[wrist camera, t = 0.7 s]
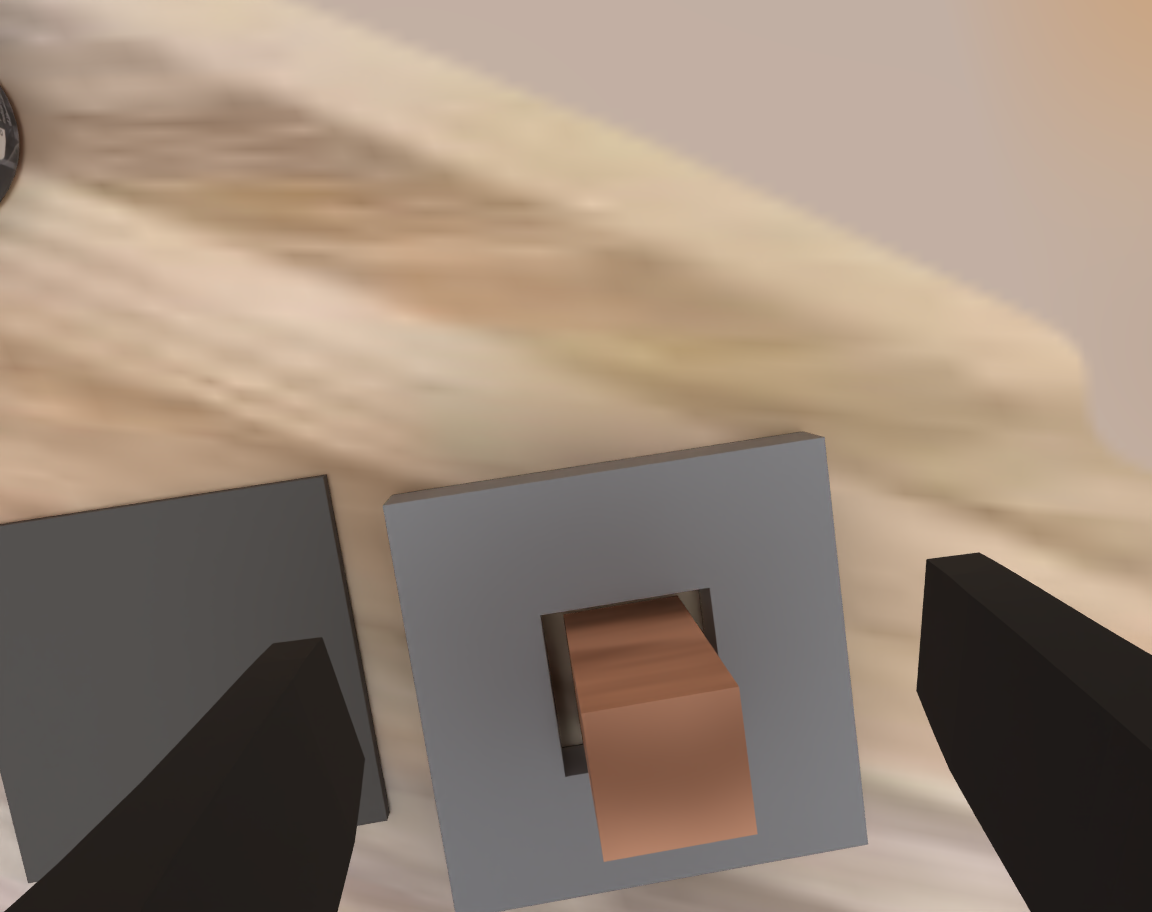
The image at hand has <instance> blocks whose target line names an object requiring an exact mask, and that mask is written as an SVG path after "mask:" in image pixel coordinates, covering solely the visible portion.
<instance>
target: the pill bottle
mask: <svg viewBox="0 0 1152 912" xmlns="http://www.w3.org/2000/svg"><path fill="white" fill-rule="evenodd" d="M18 160H19V134H18V129H17V123H16V120H15V116H14V113H13V110H12V107H11V105H10V103H9V100H8V98H7V96H6V94H5V93H4V91H3V89H2V88H1V86H0V202H1V200H2V199H3V197H4V196H5V194H6V192H7V191H8V189H9V187H10V185H11V183H12V180H13V178H14V176H15V173H16V168H17V165H18Z"/></svg>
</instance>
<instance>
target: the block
mask: <svg viewBox="0 0 1152 912" xmlns="http://www.w3.org/2000/svg"><path fill="white" fill-rule="evenodd" d="M563 616H564V623H565V629H566V636H567V643H568V649H569V656H570V662H571V669H572V675H573V682H574V688H575V695H576V702H577V708H578V715H579V721H580V727H581V733H582V739H583V745H584V750H585V756H586V762H587V768H588V773H589V779H590V785H591V791H592V796H593V802H594V808H595V814H596V819H597V825H598V831H599V837H600V842H601V848H602V854H603V860H604V862H606V861H612V860H617V859H623V858H629V857H634V856H640V855H645V854H651V853H656V852H662V851H667V850H673V849H678V848H684V847H690V846H695V845H701V844H706V843H712V842H717V841H723V840H728V839H734V838H739V837H745V836H750V835H756V834H758V833H757V825H756V818H755V810H754V802H753V794H752V786H751V778H750V770H749V762H748V754H747V746H746V738H745V730H744V722H743V714H742V706H741V698H740V690H739V686H738V684H737V683H736V681H735V680H734V678H733V677H732V675H731V674H730V673H729V671H728V670H727V668H726V667H725V665H724V664H723V662H722V661H721V659H720V658H719V656H718V655H717V653H716V652H715V650H714V649H713V647H712V646H711V644H710V643H709V641H708V640H707V639H706V637H705V636H704V634H703V633H702V631H701V630H700V628H699V627H698V625H697V624H696V622H695V621H694V619H693V618H692V616H691V615H690V613H689V612H688V610H687V609H686V607H685V606H684V604H683V603H682V602H681V600H680V599H679V597H678V596H672V597H666V598H660V599H653V600H647V601H641V602H635V603H629V604H623V605H617V606H611V607H605V608H599V609H592V610H586V611H580V612H574V613H568V614H563Z"/></svg>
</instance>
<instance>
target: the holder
mask: <svg viewBox="0 0 1152 912" xmlns="http://www.w3.org/2000/svg"><path fill="white" fill-rule="evenodd" d="M383 510H384V515H385V521H386V527H387V532H388V538H389V543H390V549H391V555H392V560H393V566H394V571H395V577H396V583H397V588H398V594H399V599H400V605H401V611H402V616H403V622H404V627H405V633H406V639H407V644H408V650H409V655H410V661H411V667H412V672H413V678H414V683H415V689H416V695H417V700H418V706H419V711H420V717H421V723H422V728H423V734H424V739H425V745H426V751H427V756H428V762H429V767H430V773H431V779H432V784H433V790H434V795H435V801H436V807H437V812H438V818H439V823H440V829H441V835H442V840H443V846H444V851H445V857H446V863H447V868H448V874H449V879H450V885H451V891H452V896H453V902H454V907H455V912H499V911H505V910H510V909H516V908H521V907H527V906H532V905H538V904H543V903H549V902H554V901H560V900H565V899H571V898H576V897H581V896H587V895H592V894H598V893H603V892H609V891H614V890H620V889H625V888H631V887H636V886H642V885H647V884H653V883H658V882H664V881H669V880H675V879H680V878H686V877H691V876H697V875H702V874H708V873H713V872H719V871H724V870H730V869H735V868H741V867H746V866H752V865H757V864H763V863H768V862H774V861H779V860H785V859H790V858H796V857H801V856H807V855H812V854H818V853H823V852H829V851H834V850H840V849H845V848H851V847H856V846H862V845H867V844H868V839H867V830H866V820H865V811H864V802H863V792H862V783H861V774H860V764H859V755H858V746H857V736H856V727H855V718H854V708H853V699H852V690H851V680H850V671H849V662H848V652H847V643H846V634H845V624H844V615H843V606H842V596H841V587H840V578H839V568H838V559H837V550H836V540H835V531H834V521H833V512H832V503H831V493H830V484H829V475H828V465H827V456H826V447H825V437H822V436H818V435H814V434H810V433H807V432H797V433H790V434H784V435H777V436H771V437H764V438H758V439H751V440H745V441H738V442H732V443H725V444H719V445H712V446H706V447H699V448H693V449H686V450H680V451H674V452H667V453H661V454H654V455H648V456H641V457H635V458H628V459H622V460H615V461H609V462H602V463H596V464H589V465H583V466H576V467H570V468H563V469H557V470H550V471H544V472H537V473H531V474H524V475H518V476H512V477H505V478H499V479H492V480H486V481H479V482H473V483H466V484H460V485H453V486H447V487H440V488H434V489H427V490H421V491H414V492H408V493H401V494H395V495H392V496H391V497H390V498H389V499H388V500H387V501H386V503H385V504H384V505H383ZM698 589H699V596H700V604H701V612H702V619H703V627H704V635H705V637H706V639H707V640H708V641H709V643H710V644H711V646H712V647H713V649H714V650H715V652H716V653H717V655H718V656H719V658H720V659H721V661H722V662H723V664H724V665H725V667H726V668H727V670H728V671H729V673H730V674H731V675H732V677H733V678H734V680H735V681H736V683H737V684H738V686H739V690H740V698H741V706H742V714H743V722H744V730H745V738H746V746H747V754H748V762H749V770H750V778H751V786H752V794H753V802H754V810H755V818H756V825H757V833H758V834H756V835H750V836H745V837H739V838H734V839H728V840H723V841H717V842H712V843H706V844H701V845H695V846H690V847H684V848H678V849H673V850H667V851H662V852H656V853H651V854H645V855H640V856H634V857H629V858H623V859H617V860H612V861H606V862H604V860H603V854H602V848H601V842H600V837H599V831H598V825H597V819H596V814H595V808H594V802H593V796H592V791H591V785H590V779H589V773H588V768H587V762H586V756H585V750H584V745H577V746H572V747H566V748H562V746H561V739H560V733H559V726H558V720H557V714H556V707H555V701H554V694H553V688H552V682H551V675H550V669H549V662H548V656H547V650H546V643H545V637H544V630H543V624H542V618H541V615H545V614H552V613H558V612H564V611H570V610H576V609H582V608H588V607H594V606H600V605H607V604H613V603H619V602H625V601H631V600H637V599H643V598H649V597H655V596H662V595H668V594H674V593H680V592H686V591H692V590H698Z"/></svg>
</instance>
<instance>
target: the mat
mask: <svg viewBox="0 0 1152 912" xmlns="http://www.w3.org/2000/svg"><path fill="white" fill-rule="evenodd" d="M318 637H323V640H324V643H325V646H326V649H327V652H328V654H329V657H330V660H331V663H332V666H333V669H334V672H335V674H336V677H337V680H338V683H339V686H340V689H341V692H342V694H343V697H344V700H345V703H346V706H347V709H348V712H349V714H350V717H351V720H352V723H353V726H354V729H355V732H356V734H357V737H358V740H359V743H360V746H361V749H362V752H363V754H364V757H365V764H364V773H363V782H362V791H361V799H360V807H359V815H358V822H357V826H358V825H364V824H370V823H375V822H381V821H387V819H388V816H389V807H388V802H387V797H386V791H385V786H384V781H383V775H382V770H381V765H380V759H379V754H378V748H377V743H376V738H375V732H374V727H373V722H372V716H371V711H370V706H369V700H368V695H367V690H366V684H365V679H364V673H363V668H362V663H361V657H360V652H359V647H358V641H357V636H356V631H355V625H354V620H353V615H352V609H351V604H350V598H349V593H348V588H347V582H346V577H345V572H344V566H343V561H342V556H341V550H340V545H339V540H338V534H337V529H336V523H335V518H334V513H333V507H332V502H331V497H330V491H329V486H328V481H327V475H321V476H314V477H307V478H301V479H294V480H288V481H281V482H275V483H268V484H261V485H255V486H248V487H242V488H235V489H229V490H222V491H216V492H209V493H202V494H196V495H189V496H183V497H176V498H170V499H163V500H156V501H150V502H143V503H137V504H130V505H124V506H117V507H111V508H104V509H97V510H91V511H84V512H78V513H71V514H65V515H58V516H52V517H45V518H38V519H32V520H25V521H19V522H12V523H6V524H0V773H1V777H2V781H3V785H4V789H5V793H6V797H7V801H8V805H9V809H10V813H11V817H12V821H13V825H14V829H15V833H16V837H17V841H18V845H19V849H20V853H21V857H22V861H23V865H24V869H25V873H26V877H27V881H28V883H33V882H38V881H39V880H40V879H41V878H42V877H43V876H45V875H46V874H47V873H48V872H49V871H50V870H51V869H52V868H53V867H54V866H55V865H56V864H58V863H59V862H60V861H61V860H62V859H63V858H64V857H65V856H66V855H67V854H68V853H69V852H70V851H71V850H72V849H73V848H74V847H75V846H76V845H77V844H78V843H79V842H80V841H81V840H82V839H83V838H84V837H85V836H86V835H87V834H88V833H89V832H90V831H91V830H93V829H94V828H95V827H96V826H97V825H98V824H99V823H100V822H101V821H102V820H103V819H104V818H105V817H106V816H107V815H108V814H109V813H110V812H111V811H112V810H113V809H114V808H115V807H116V806H117V805H118V804H119V803H120V802H121V801H122V800H123V799H124V798H125V797H126V796H127V795H128V794H129V793H130V792H131V791H132V790H133V789H134V788H135V787H136V786H137V785H138V784H140V782H141V781H142V780H143V779H144V778H145V777H146V776H147V775H148V774H149V773H150V772H151V771H152V770H153V769H154V768H155V767H156V766H157V765H158V764H159V763H160V762H161V761H162V759H163V758H164V757H165V756H166V755H167V754H168V753H169V752H170V751H171V750H172V749H173V748H174V747H175V746H176V745H177V744H178V743H179V742H180V741H181V739H182V738H183V737H184V736H185V735H186V734H187V733H188V732H189V731H190V730H191V729H192V728H193V727H194V726H195V725H196V724H197V723H198V722H199V720H200V719H201V718H202V717H203V716H204V715H205V714H206V713H207V712H208V711H209V710H210V709H211V708H212V706H213V705H214V704H215V703H216V702H217V701H218V700H219V699H220V698H221V697H222V696H223V695H224V693H225V692H226V691H227V690H228V689H229V688H230V687H231V686H232V685H233V684H234V683H235V682H236V681H237V680H238V678H239V677H240V676H241V675H242V674H243V673H244V672H245V671H246V670H247V669H248V668H249V667H250V666H251V665H252V664H253V663H254V661H255V660H256V659H257V658H258V657H259V656H260V655H261V654H262V653H263V652H264V651H265V650H266V649H267V648H268V647H269V646H270V645H272V644H273V643H279V642H287V641H294V640H302V639H310V638H318Z"/></svg>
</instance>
